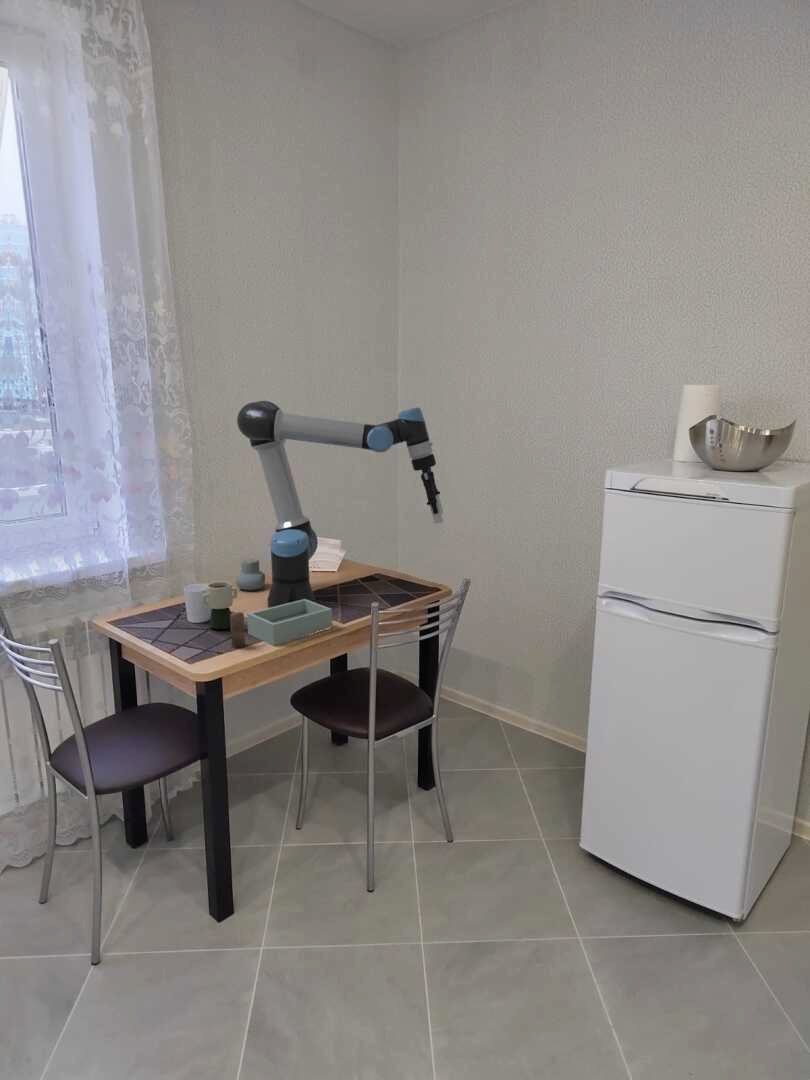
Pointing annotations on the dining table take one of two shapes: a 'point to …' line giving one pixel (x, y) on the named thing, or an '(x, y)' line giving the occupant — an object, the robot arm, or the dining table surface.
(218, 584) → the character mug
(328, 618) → the box
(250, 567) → the air freshener
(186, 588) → the white cup
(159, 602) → the dining table surface
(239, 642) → the peg
